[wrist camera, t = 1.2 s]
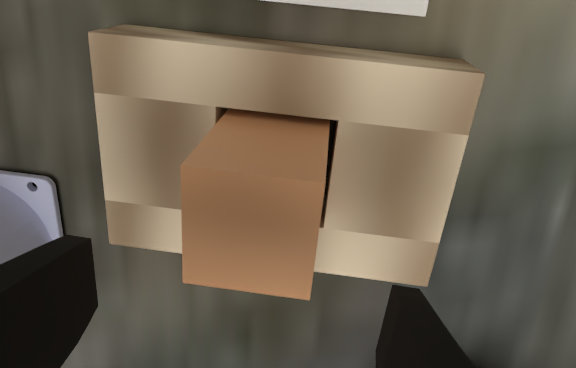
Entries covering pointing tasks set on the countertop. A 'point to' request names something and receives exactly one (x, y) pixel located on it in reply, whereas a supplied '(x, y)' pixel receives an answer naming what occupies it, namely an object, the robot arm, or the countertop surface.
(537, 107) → the countertop surface
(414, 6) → the mat
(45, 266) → the robot arm
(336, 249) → the beige holed block
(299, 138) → the plug
